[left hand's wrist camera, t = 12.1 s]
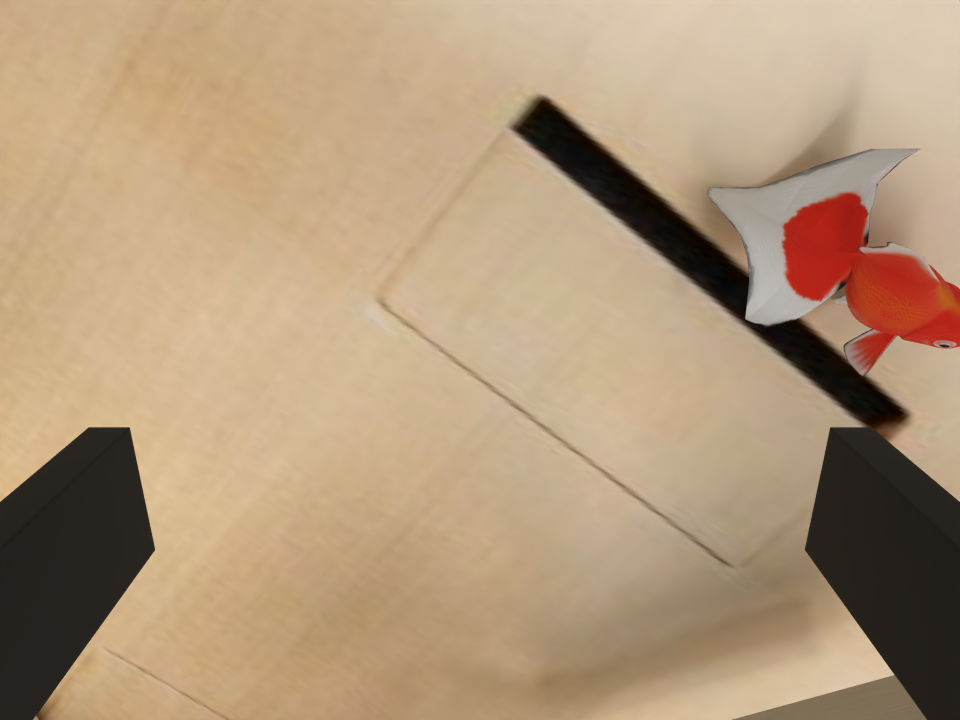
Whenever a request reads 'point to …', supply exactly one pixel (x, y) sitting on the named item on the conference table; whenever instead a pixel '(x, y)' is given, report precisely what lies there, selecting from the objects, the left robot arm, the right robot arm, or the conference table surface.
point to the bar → (851, 705)
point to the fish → (838, 257)
